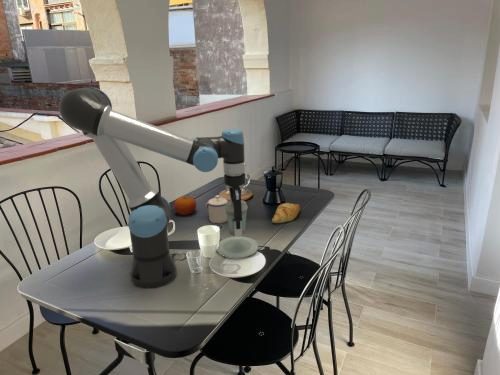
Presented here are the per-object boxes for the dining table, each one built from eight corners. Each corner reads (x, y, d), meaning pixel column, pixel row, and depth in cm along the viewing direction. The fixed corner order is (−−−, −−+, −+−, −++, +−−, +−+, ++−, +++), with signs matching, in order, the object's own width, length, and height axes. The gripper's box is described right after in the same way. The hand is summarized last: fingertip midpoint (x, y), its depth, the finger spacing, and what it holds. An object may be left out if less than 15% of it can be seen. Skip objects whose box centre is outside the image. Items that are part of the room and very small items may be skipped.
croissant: (278, 233, 161) (285, 221, 157) (262, 219, 165) (268, 206, 160) (303, 217, 177) (310, 205, 172) (287, 204, 181) (294, 192, 176)
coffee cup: (229, 227, 144) (227, 198, 140) (250, 228, 142) (249, 199, 138) (223, 237, 136) (221, 206, 132) (245, 238, 134) (244, 208, 130)
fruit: (170, 214, 175) (168, 198, 173) (185, 207, 184) (184, 192, 181) (186, 219, 170) (185, 203, 167) (201, 211, 178) (200, 196, 175)
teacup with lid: (232, 218, 169) (231, 194, 166) (219, 225, 162) (218, 200, 159) (213, 213, 176) (212, 190, 172) (200, 219, 169) (198, 195, 165)
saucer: (217, 262, 132) (217, 257, 132) (215, 241, 147) (215, 238, 147) (261, 257, 135) (261, 253, 134) (254, 238, 150) (254, 234, 149)
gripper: (249, 180, 122) (251, 242, 129) (241, 165, 141) (243, 219, 149) (226, 182, 121) (229, 244, 128) (221, 166, 140) (224, 221, 148)
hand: (237, 231), depth 139 cm, fingers closed on coffee cup, 8 cm apart
